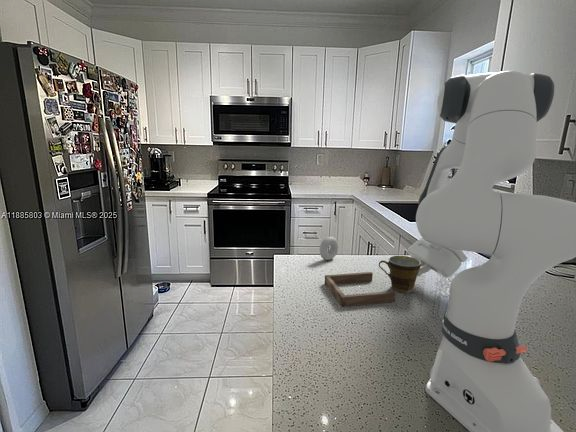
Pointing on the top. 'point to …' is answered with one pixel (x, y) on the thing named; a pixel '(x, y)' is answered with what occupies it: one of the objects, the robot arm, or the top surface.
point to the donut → (324, 248)
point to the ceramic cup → (402, 272)
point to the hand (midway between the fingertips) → (415, 273)
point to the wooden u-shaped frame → (356, 298)
